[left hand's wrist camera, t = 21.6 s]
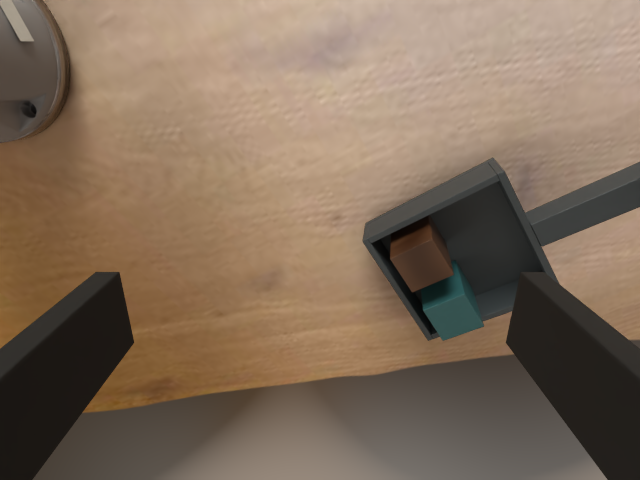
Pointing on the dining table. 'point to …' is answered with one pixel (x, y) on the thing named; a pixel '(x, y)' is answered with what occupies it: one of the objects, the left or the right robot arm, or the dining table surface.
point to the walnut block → (420, 254)
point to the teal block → (451, 305)
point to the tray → (496, 231)
